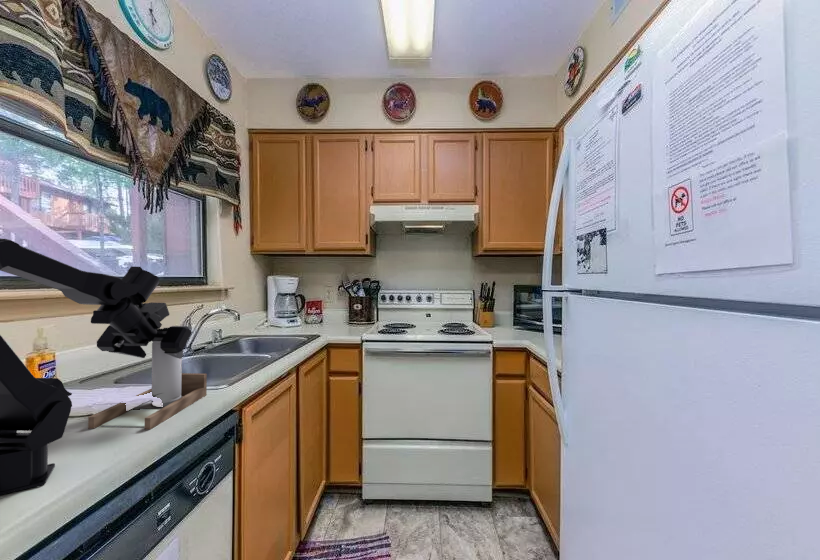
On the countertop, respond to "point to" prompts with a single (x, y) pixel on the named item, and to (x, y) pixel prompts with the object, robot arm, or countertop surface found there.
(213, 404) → the countertop surface
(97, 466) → the countertop surface
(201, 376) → the shelf lane
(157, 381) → the travel mug
